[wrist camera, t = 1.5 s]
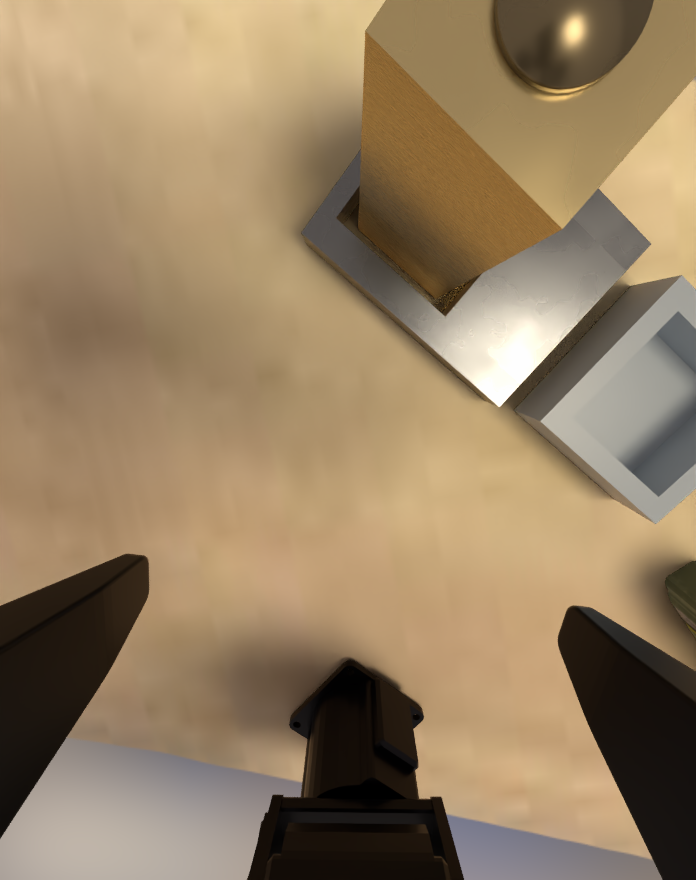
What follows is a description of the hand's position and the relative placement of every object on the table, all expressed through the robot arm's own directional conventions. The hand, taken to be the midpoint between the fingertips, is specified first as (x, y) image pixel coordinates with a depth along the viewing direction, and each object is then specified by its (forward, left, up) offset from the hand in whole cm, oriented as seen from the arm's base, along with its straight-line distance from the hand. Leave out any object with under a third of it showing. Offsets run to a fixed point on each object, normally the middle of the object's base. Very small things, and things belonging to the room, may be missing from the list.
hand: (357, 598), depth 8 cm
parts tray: (+11, -9, -13) cm, 19 cm away
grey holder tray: (+11, +2, -13) cm, 17 cm away
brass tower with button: (+11, +4, -13) cm, 18 cm away
